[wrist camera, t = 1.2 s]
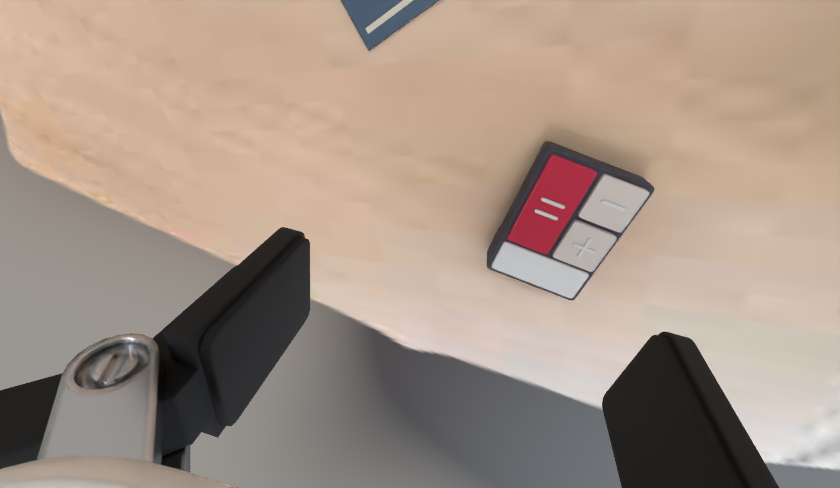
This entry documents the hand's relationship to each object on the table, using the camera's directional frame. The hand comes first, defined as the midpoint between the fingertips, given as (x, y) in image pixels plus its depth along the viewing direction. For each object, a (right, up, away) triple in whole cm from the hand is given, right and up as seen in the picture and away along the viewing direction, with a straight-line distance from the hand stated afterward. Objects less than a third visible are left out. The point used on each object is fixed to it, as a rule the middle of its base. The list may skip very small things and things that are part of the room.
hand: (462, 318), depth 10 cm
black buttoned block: (+15, +5, +30) cm, 34 cm away
